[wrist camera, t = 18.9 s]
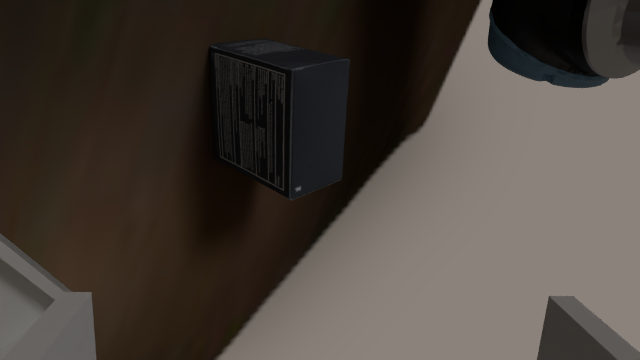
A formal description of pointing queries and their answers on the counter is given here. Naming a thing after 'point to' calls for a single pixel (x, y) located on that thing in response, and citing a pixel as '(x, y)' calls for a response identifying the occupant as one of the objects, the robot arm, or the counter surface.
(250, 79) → the small box
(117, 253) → the counter surface
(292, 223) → the counter surface
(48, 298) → the tray
